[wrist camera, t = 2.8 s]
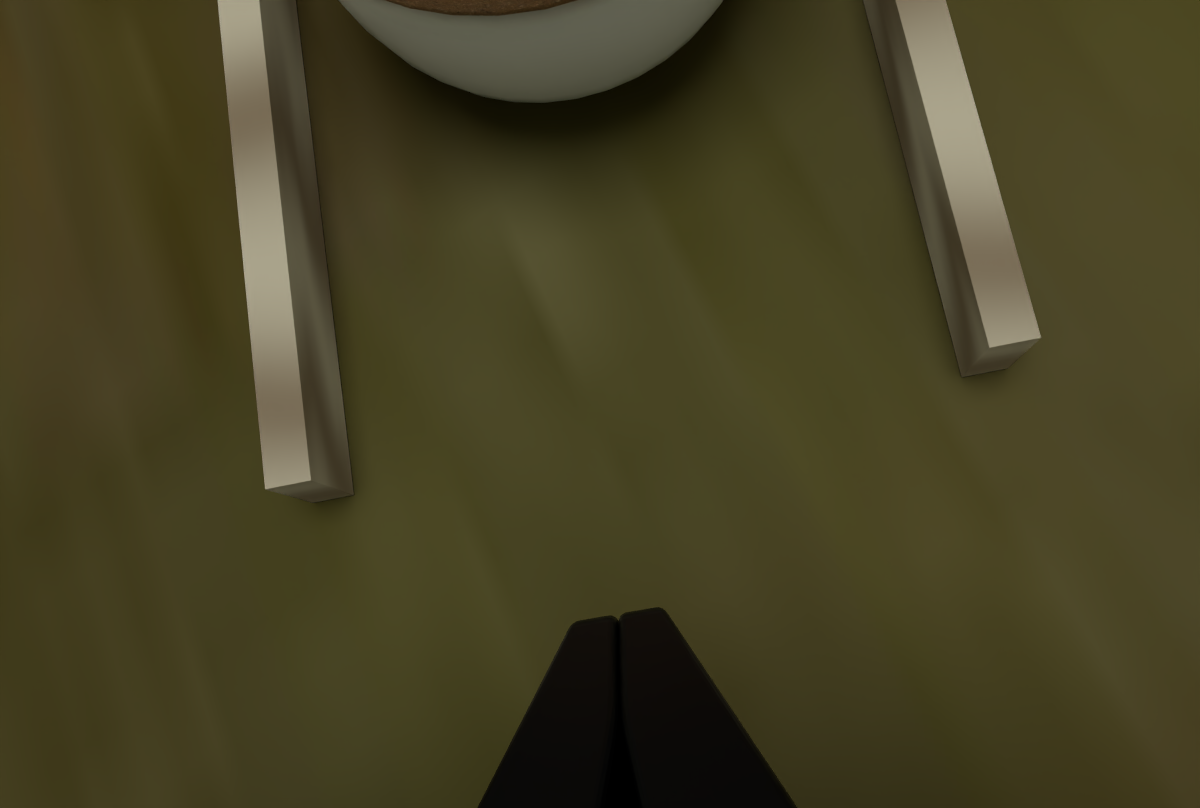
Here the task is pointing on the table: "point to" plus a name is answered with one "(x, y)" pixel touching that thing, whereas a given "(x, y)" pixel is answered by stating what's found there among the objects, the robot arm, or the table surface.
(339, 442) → the trap lane
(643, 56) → the lidded jar
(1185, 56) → the table surface
